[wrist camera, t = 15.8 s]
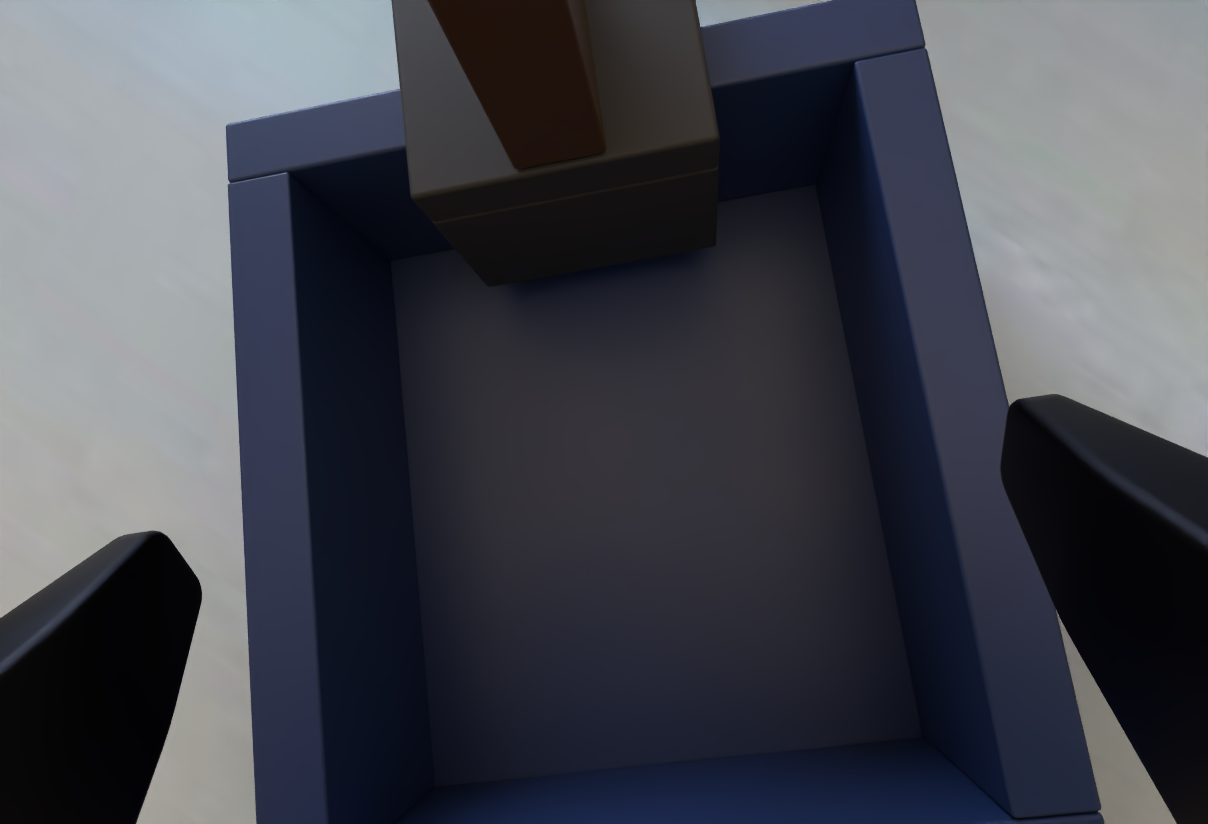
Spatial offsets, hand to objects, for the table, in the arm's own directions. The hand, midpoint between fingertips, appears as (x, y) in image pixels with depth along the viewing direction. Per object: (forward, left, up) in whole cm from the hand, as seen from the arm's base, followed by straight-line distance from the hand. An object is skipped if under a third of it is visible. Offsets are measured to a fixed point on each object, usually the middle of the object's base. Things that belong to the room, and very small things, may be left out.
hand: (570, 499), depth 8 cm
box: (+1, 0, -9) cm, 9 cm away
